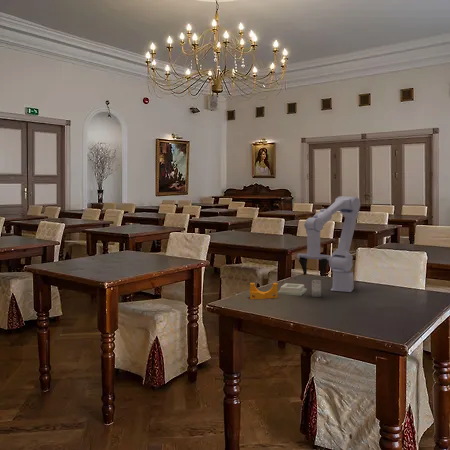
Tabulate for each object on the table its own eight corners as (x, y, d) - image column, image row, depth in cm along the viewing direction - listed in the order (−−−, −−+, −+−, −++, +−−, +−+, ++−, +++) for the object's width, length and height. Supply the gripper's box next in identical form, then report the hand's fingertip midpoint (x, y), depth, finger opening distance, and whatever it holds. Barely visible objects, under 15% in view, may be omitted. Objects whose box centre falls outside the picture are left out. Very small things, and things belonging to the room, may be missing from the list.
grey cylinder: (321, 295, 220) (321, 280, 220) (319, 297, 217) (319, 281, 216) (312, 294, 222) (312, 279, 221) (310, 296, 218) (310, 281, 217)
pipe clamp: (250, 299, 216) (250, 285, 215) (250, 297, 220) (250, 282, 220) (277, 299, 215) (277, 285, 214) (277, 297, 219) (277, 282, 219)
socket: (306, 290, 230) (306, 284, 230) (301, 295, 220) (301, 289, 220) (284, 288, 235) (284, 282, 234) (277, 293, 224) (277, 287, 224)
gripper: (295, 245, 217) (294, 275, 218) (327, 246, 210) (327, 278, 211) (300, 243, 223) (299, 272, 224) (331, 244, 216) (331, 275, 218)
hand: (313, 275), depth 218 cm, fingers open, 7 cm apart
